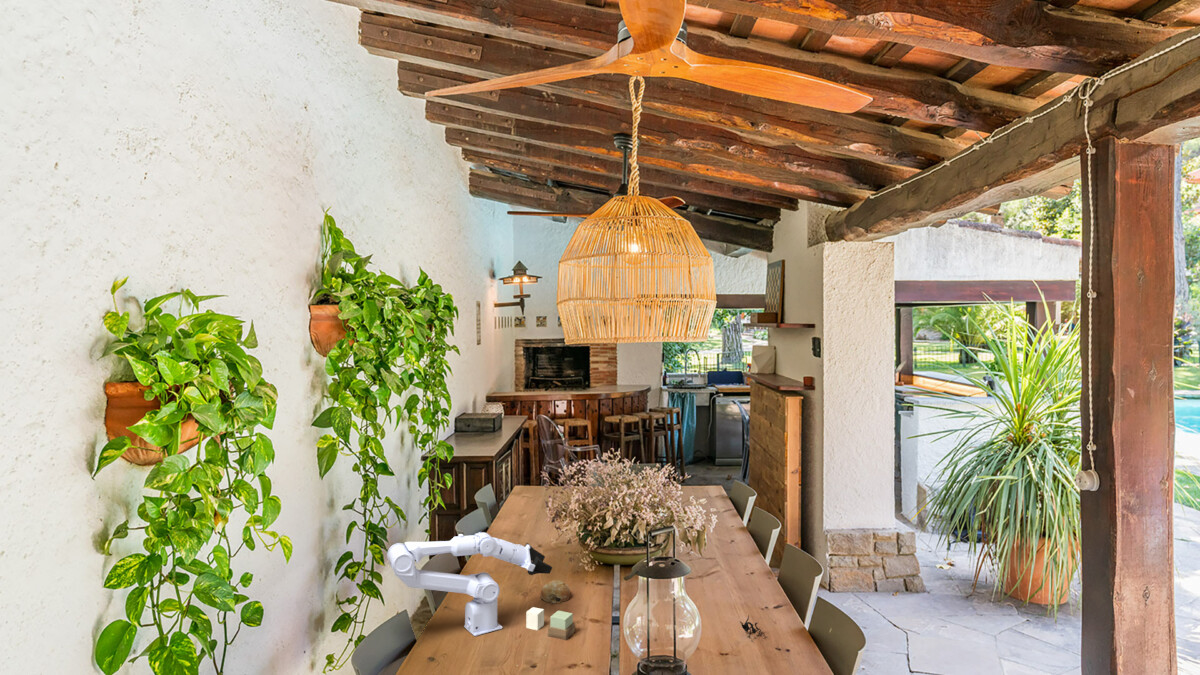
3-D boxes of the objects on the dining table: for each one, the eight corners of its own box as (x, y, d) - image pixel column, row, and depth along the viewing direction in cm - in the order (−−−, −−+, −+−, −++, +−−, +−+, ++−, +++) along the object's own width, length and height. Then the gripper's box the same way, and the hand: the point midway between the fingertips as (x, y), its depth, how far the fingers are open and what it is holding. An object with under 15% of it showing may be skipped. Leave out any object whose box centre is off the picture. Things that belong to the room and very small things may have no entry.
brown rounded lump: (542, 613, 223) (544, 596, 219) (537, 590, 232) (539, 573, 228) (570, 610, 225) (573, 593, 222) (565, 587, 234) (567, 570, 231)
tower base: (565, 641, 195) (565, 631, 195) (548, 637, 198) (548, 627, 198) (574, 633, 201) (575, 623, 201) (557, 629, 203) (557, 619, 203)
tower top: (565, 629, 196) (565, 619, 196) (550, 626, 198) (550, 616, 198) (572, 623, 201) (572, 613, 201) (558, 620, 203) (558, 610, 203)
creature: (770, 639, 200) (746, 626, 205) (774, 623, 199) (750, 610, 204) (758, 648, 194) (734, 634, 199) (762, 631, 193) (738, 618, 198)
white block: (537, 630, 202) (537, 614, 202) (526, 628, 203) (526, 611, 203) (543, 625, 205) (544, 609, 205) (532, 623, 207) (532, 607, 207)
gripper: (522, 551, 200) (559, 563, 206) (510, 531, 213) (545, 543, 219) (511, 572, 200) (549, 584, 205) (500, 551, 213) (536, 562, 219)
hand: (547, 564), depth 212 cm, fingers open, 7 cm apart
